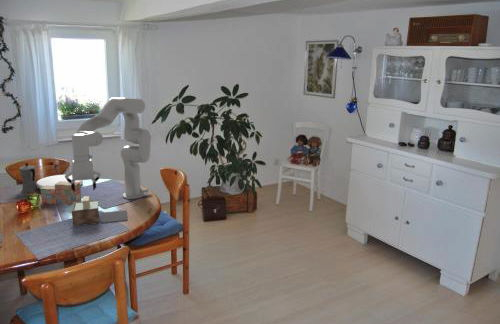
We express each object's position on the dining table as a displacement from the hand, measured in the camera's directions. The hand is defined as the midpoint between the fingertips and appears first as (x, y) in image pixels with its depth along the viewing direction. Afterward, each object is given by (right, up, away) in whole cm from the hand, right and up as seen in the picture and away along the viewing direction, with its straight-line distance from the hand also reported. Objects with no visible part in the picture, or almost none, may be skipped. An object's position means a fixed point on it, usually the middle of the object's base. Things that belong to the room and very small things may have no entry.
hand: (84, 190), depth 214 cm
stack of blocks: (-25, -10, +29) cm, 39 cm away
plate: (-38, -2, +57) cm, 69 cm away
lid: (0, -9, +3) cm, 10 cm away
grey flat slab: (+13, -15, +9) cm, 22 cm away
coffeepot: (-53, -4, +48) cm, 72 cm away
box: (-1, -16, +5) cm, 17 cm away
